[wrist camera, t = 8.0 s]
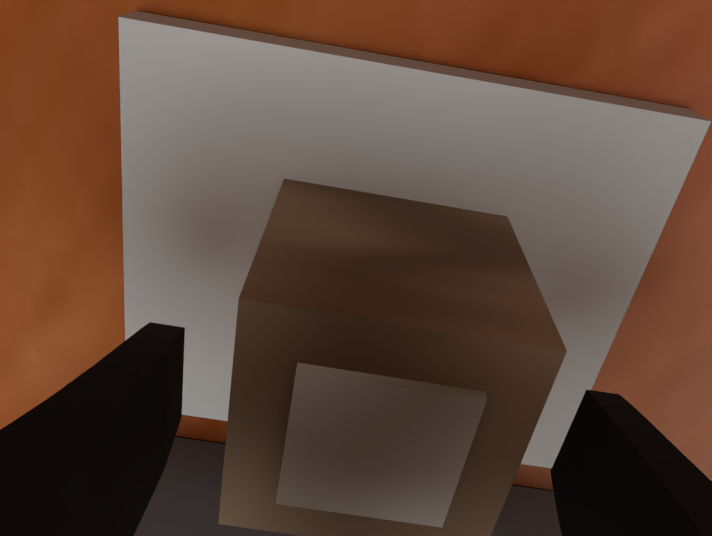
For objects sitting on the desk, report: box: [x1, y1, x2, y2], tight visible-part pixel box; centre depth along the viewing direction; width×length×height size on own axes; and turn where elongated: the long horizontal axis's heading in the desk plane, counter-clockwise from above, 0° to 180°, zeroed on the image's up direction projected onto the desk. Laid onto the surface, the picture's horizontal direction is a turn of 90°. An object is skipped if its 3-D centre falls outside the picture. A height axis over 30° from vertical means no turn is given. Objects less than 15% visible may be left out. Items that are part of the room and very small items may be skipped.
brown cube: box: [218, 179, 567, 536], centre depth 13 cm, size 5×5×5 cm
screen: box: [134, 437, 562, 536], centre depth 17 cm, size 16×1×4 cm, turn 81°
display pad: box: [119, 11, 711, 468], centre depth 15 cm, size 12×10×1 cm
